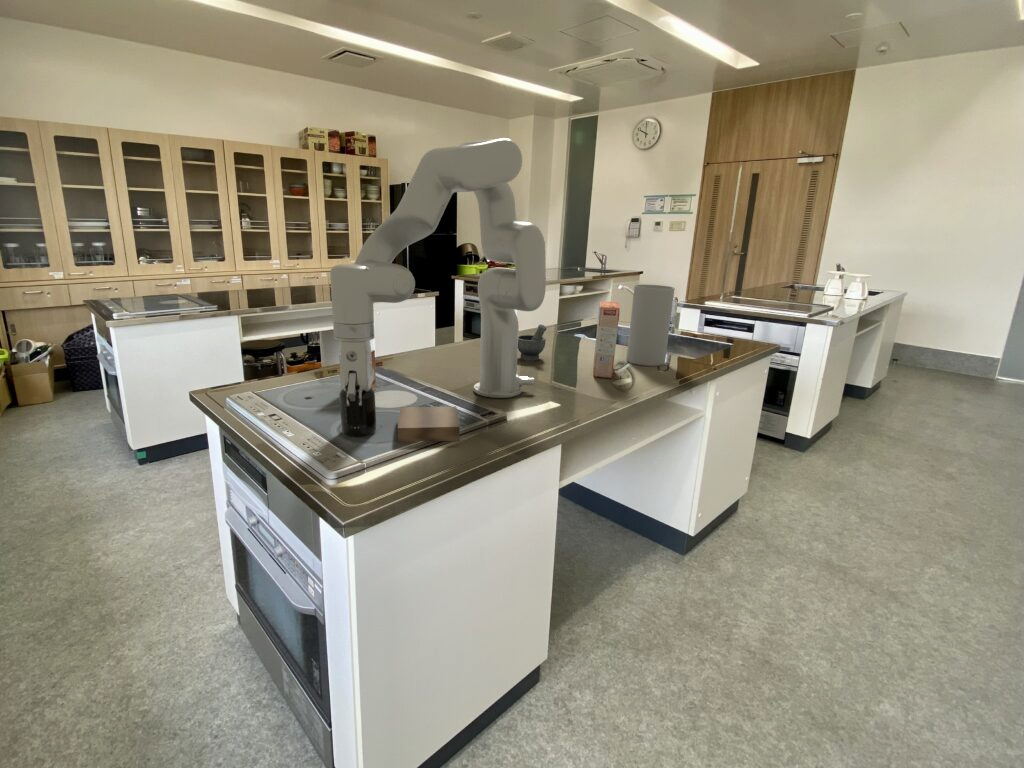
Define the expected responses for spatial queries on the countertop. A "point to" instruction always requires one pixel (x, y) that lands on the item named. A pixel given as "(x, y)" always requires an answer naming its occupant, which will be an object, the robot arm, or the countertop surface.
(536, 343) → the mortar and pestle
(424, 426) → the walnut base
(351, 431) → the supplement bottle
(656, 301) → the cylinder vase
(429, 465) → the countertop surface
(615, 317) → the cracker box
